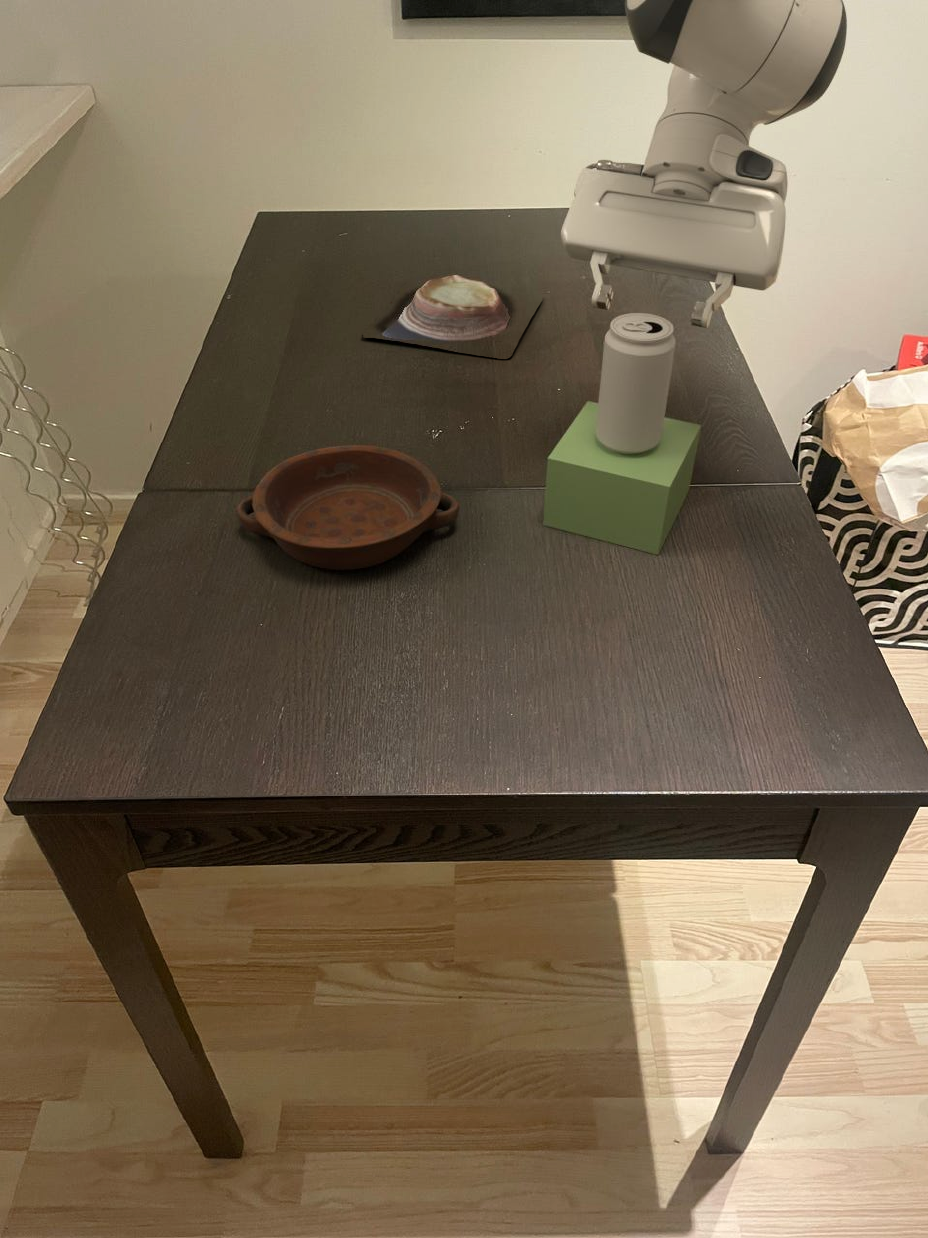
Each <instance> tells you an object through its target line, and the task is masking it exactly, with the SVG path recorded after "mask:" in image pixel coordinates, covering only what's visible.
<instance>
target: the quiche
mask: <svg viewBox="0 0 928 1238" xmlns="http://www.w3.org/2000/svg"><path fill="white" fill-rule="evenodd" d="M498 292H499V291H497V290H496V288H493V287H491V286H489V284H488V283H487V282H484V281H482V280H478V279H469V278H465V277H464V276H461V275H459V274H452V275H448V276H447V275H446V276H443V277H438V278H432V279H430V280H428V281H427V282H426V283H425V284H424V285H423V286H422V287H421V288H419V289H418V290H417V291H416V293H415V295H414V298H413V300H412V302H411V303H410V304H409V305H408V306H407V307H405V308H404V310H403V312H402V314H401V315H400V317H399V319H398V320H397V321H396V322H395V323H394V324H392V325H391V326H390V327H388V328H387V329H386V330H385V331H384V332H383V333H382V335H383V336H385V337H388V338H394V339H402V340H417V341H437V342H465V341H471V340H476V339H481V338H485V337H489V336H493V335H496V334H498V333H501V332H503V331H504V330H505V328H506V326H507V323H508V321H509V319H510V316H509V314H508V309H507V308H506V307H505V305H504V304H503V302H502V300H501V298H500V296H499V294H498Z"/></svg>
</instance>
